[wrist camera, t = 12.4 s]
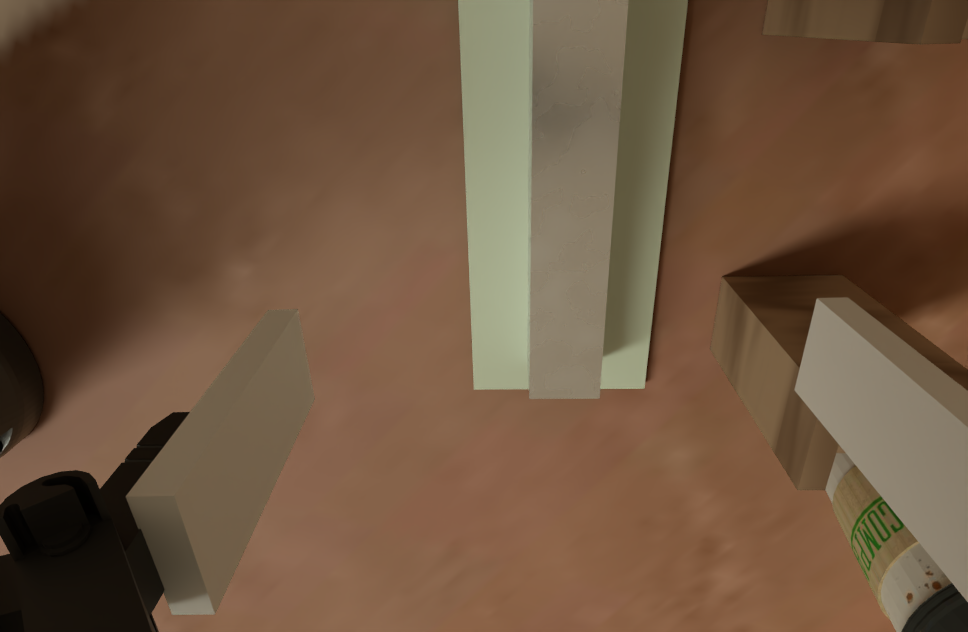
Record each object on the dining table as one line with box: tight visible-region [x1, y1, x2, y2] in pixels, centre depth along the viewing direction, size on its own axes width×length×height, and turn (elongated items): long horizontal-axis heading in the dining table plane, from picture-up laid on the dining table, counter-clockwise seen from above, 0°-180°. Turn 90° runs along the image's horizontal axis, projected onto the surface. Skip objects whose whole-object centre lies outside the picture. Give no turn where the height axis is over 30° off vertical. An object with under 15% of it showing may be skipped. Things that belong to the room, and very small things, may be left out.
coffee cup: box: [825, 453, 968, 632], centre depth 34 cm, size 10×10×15 cm
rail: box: [527, 0, 629, 399], centre depth 30 cm, size 24×4×4 cm, turn 1°
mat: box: [458, 0, 688, 389], centre depth 32 cm, size 11×28×1 cm, turn 1°
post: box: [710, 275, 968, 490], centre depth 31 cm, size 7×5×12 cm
